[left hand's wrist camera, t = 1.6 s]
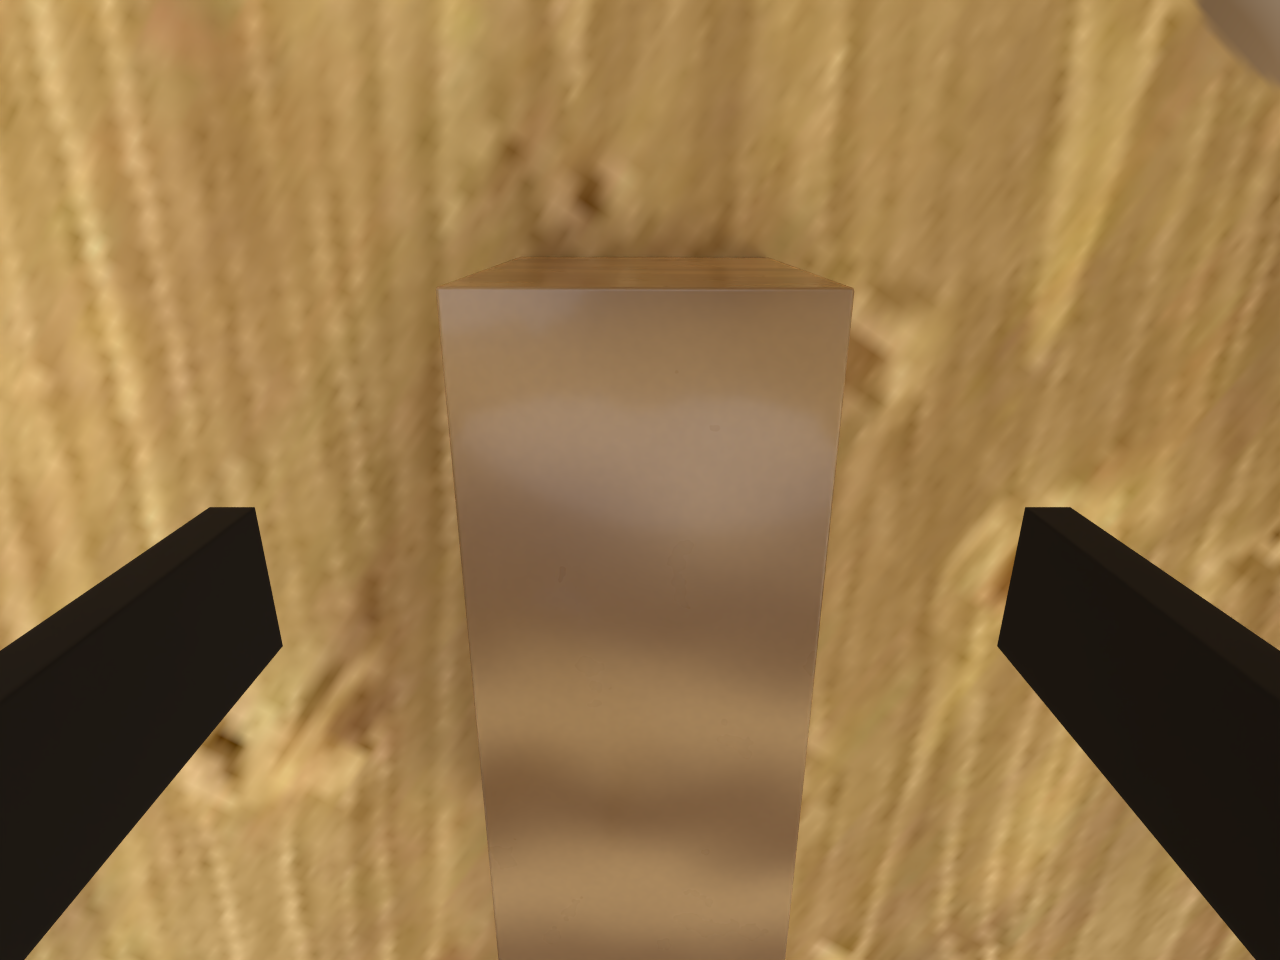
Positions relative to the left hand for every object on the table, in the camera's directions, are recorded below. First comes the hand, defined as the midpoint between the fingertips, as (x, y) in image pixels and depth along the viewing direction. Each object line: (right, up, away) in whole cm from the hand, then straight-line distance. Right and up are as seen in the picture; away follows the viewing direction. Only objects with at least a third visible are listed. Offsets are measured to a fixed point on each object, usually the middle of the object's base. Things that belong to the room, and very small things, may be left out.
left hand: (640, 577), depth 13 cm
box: (0, -2, +16) cm, 16 cm away
